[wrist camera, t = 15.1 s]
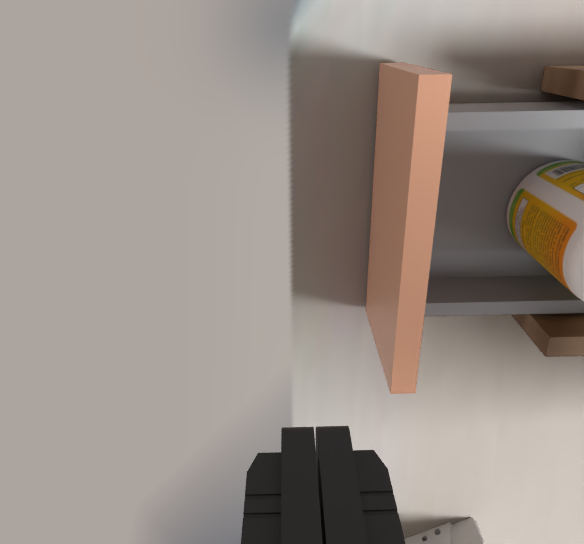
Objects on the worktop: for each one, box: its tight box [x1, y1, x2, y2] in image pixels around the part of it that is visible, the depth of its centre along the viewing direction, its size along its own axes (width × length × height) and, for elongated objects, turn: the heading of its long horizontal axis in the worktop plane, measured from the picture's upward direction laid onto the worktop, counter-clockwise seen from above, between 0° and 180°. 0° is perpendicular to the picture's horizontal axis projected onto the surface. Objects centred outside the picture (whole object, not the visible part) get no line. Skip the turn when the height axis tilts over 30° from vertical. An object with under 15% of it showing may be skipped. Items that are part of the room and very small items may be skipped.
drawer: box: [366, 63, 584, 394], centre depth 24 cm, size 14×14×8 cm
